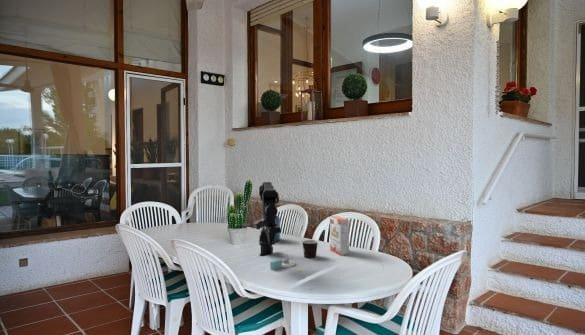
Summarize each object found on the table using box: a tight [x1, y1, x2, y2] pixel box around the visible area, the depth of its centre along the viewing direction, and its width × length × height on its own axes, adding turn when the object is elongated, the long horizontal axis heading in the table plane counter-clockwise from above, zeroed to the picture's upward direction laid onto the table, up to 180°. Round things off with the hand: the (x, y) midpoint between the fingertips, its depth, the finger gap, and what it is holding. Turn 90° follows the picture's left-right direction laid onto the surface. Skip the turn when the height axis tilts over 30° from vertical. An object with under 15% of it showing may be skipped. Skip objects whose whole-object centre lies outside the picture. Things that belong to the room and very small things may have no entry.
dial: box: [269, 258, 296, 271], centre depth 196 cm, size 16×10×4 cm, turn 142°
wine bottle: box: [260, 215, 281, 242], centre depth 260 cm, size 14×13×30 cm
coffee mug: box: [302, 239, 319, 259], centre depth 215 cm, size 12×9×10 cm
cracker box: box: [329, 215, 350, 256], centre depth 228 cm, size 14×6×21 cm, turn 21°
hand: (270, 243), depth 197 cm, fingers closed
